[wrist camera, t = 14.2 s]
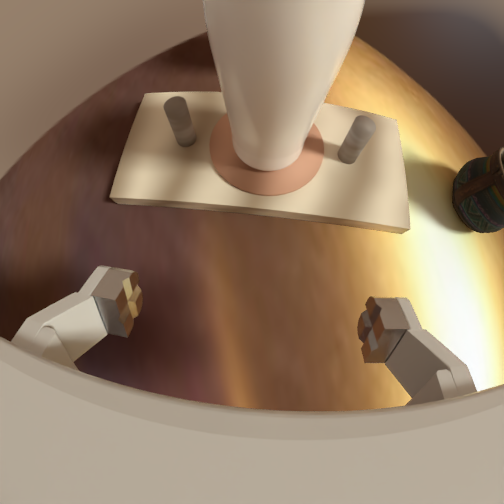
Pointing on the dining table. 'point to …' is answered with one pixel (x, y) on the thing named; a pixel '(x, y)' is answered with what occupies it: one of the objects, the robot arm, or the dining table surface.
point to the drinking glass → (277, 69)
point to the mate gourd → (481, 193)
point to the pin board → (258, 181)
